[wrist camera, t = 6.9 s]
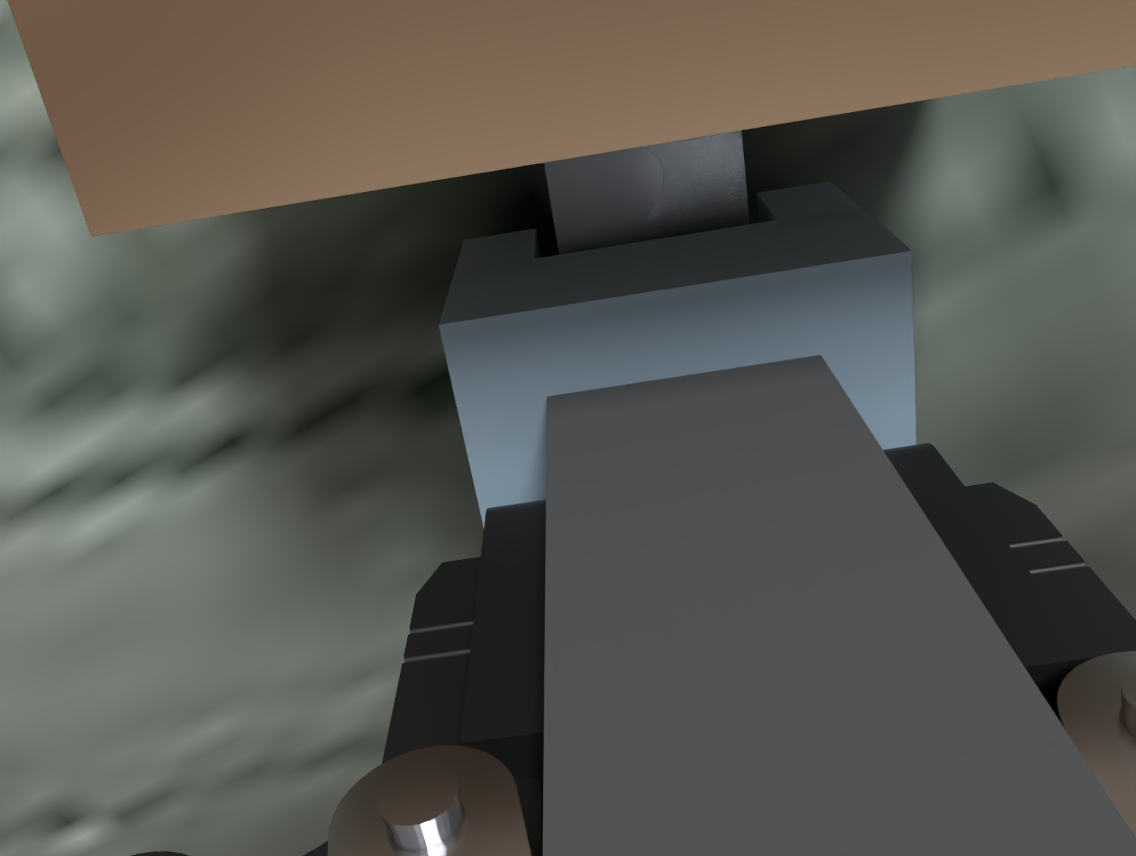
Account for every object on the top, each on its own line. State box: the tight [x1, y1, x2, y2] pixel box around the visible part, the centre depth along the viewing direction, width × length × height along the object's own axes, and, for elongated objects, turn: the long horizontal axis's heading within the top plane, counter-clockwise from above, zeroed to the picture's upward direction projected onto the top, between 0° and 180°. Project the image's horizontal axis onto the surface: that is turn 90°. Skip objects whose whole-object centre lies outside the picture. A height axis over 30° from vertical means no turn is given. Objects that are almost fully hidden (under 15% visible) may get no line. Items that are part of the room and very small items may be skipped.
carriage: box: [439, 181, 1136, 856], centre depth 11 cm, size 5×5×10 cm
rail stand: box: [8, 0, 1136, 255], centre depth 15 cm, size 28×9×7 cm, turn 9°
